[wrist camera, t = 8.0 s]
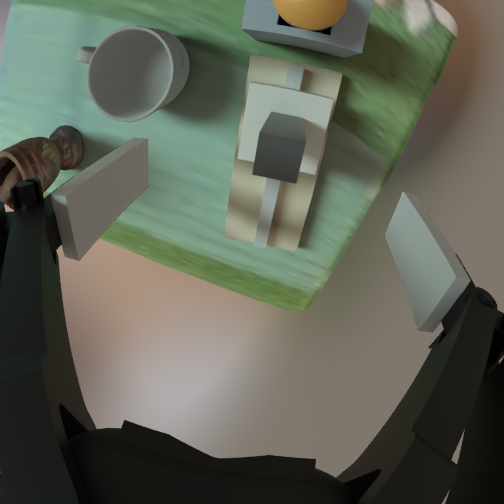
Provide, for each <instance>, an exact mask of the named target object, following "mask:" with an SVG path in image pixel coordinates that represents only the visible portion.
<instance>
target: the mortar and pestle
mask: <svg viewBox="0 0 504 504" xmlns="http://www.w3.org/2000/svg"><path fill="white" fill-rule="evenodd" d="M82 156H83V146H82V140H81V135H80V133H78V132H77V131H76V130H75V129H73V128H71V127H69V126H60V127H58V128H57V129H56V130H55V131H54V132H53V133H52V134H51V136H50V138H49V139H48V138H45V137H36V138H29V139H26V140H23V141H20V142H19V143H17V144H15V145H13V146H10V147H8V148H6V149H4V150H3V151H1V152H0V201H1V202H3V204H4V205H5V204H7V206H9V207H10V208H11V209H13V210H14V206H13V202H12V198H11V194H10V189H11V187H12V186H14V185H15V184H16V183H18V182H20V181H22V180H25V179H29V178H38V179H40V181H41V187H42V192H43V193H44V192H45V191H46V190H47V189H48V188H49V187H50V186H51V184H52V183H53V182H54V181H55V179H56V178H57V176H58V174H59V172H60V169H61V170H70V169H73V168H75V167H76V166H78V165H79V163H80V162H81V160H82Z"/></svg>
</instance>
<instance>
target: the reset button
mask: <svg viewBox="0 0 504 504" xmlns="http://www.w3.org/2000/svg"><path fill="white" fill-rule="evenodd" d="M273 3H274V6H275V8H276V10H277V12H278V14H279V15H280V16H281V17H282V18H283V19H284V20H285V21H286V26H290V27H296V28H300V29H304V30H311V31H315V32H319V33H321V32H322V31H323V29H326V28H328V27H331V26H332V25H334V24H335V23H337V22H338V21H339V20H340V18H341V17H342V16H343V15H344V13H345V11H346V7H347V0H273Z"/></svg>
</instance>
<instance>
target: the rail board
mask: <svg viewBox="0 0 504 504" xmlns="http://www.w3.org/2000/svg"><path fill="white" fill-rule="evenodd" d="M342 74H343V73H339V72H335V71H332V70H328V69H324V68H320V67H316V66H311V65H307V64H302V63H298V62H293V61H287V60H282V59H276V58H270V57H264V56H257V55H251V57H250V63H249V69H248V75H247V81H246V87H245V93H244V99H243V106H242V112H241V119H240V125H239V132H238V139H237V146H236V152H235V159H234V167H233V174H232V181H231V188H230V196H229V204H228V211H227V219H226V227H225V235H224V237H227V238H232V239H237V240H242V241H247V242H252V243H254V246H255V247H259V248H264V249H266V246H271V247H276V248H280V249H285V250H290V251H295V252H296V250H297V247H298V244H299V240H300V237H301V233H302V230H303V226H304V223H305V219H306V216H307V212H308V209H309V205H310V202H311V198H312V194H313V191H314V187H315V183H316V180H317V176H318V172H319V168H320V165H321V161H322V157H323V153H324V149H325V145H326V141H327V137H328V133H329V129H330V125H331V121H332V117H333V113H334V109H335V105H336V100H337V96H338V92H339V87H340V83H341V78H342ZM250 82H260V83H266V84H267V83H270V84H276V85H279V86H283V87H288V88H293V89H297V90H302V91H310V92H314V93H316V94H319V95H323V96H327V97H330V98H332V99H333V100H334V101H333V105H332V109H331V113H330V118H329V122H328V126H327V130H326V134H325V138H324V142H323V146H322V150H321V154H320V158H319V162H318V166H317V169H316V173H315V175H313V174H309V173H305V172H300V171H299V174H298V178H297V183H296V184H295V183H290V182H285V181H281V180H276V179H271V178H266V177H261V176H256V175H252V172H253V166H254V162H252V161H247V160H241V159H238V152H239V145H240V138H241V132H242V125H243V119H244V113H245V106H246V100H247V94H248V88H249V83H250Z"/></svg>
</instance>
